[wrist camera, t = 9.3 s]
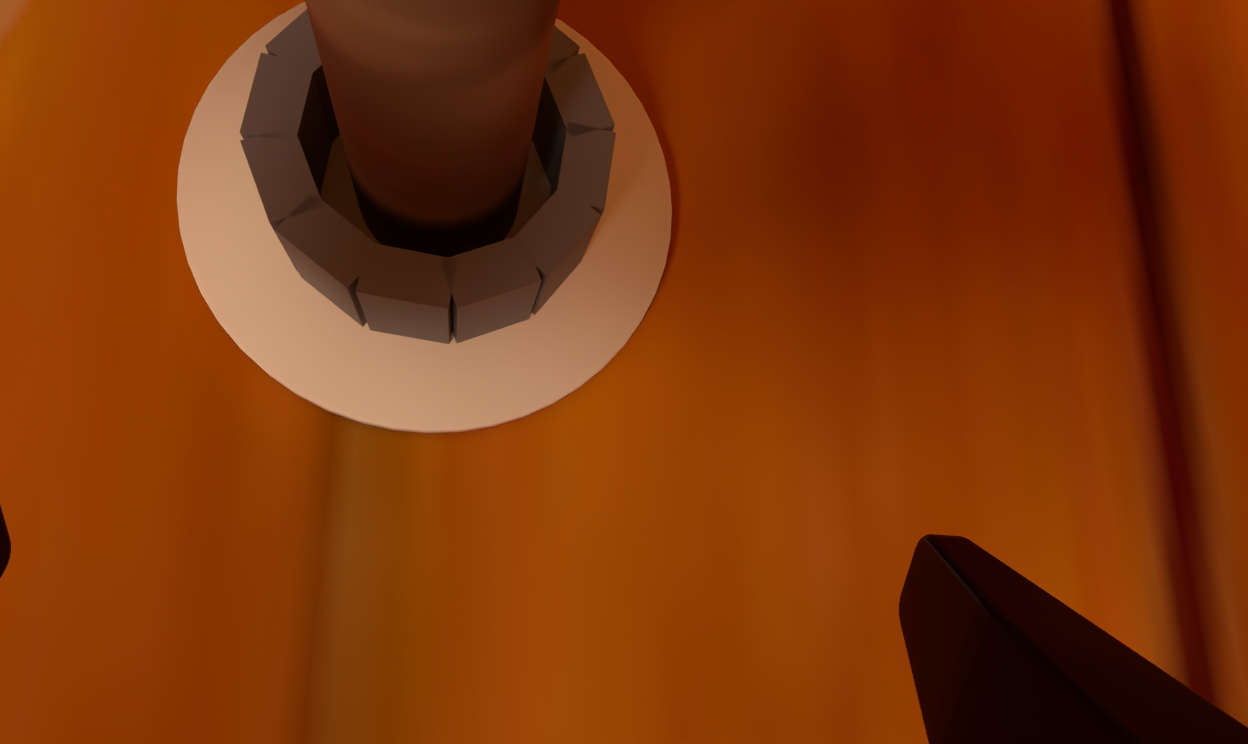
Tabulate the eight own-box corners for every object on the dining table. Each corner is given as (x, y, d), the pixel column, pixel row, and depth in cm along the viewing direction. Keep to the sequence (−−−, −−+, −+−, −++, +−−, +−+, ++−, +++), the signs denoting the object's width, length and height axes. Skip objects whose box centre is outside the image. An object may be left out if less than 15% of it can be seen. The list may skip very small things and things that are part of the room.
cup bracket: (635, 468, 19) (673, 452, 16) (126, 388, 17) (51, 351, 14) (689, 53, 22) (731, -35, 18) (250, -55, 20) (211, -174, 17)
